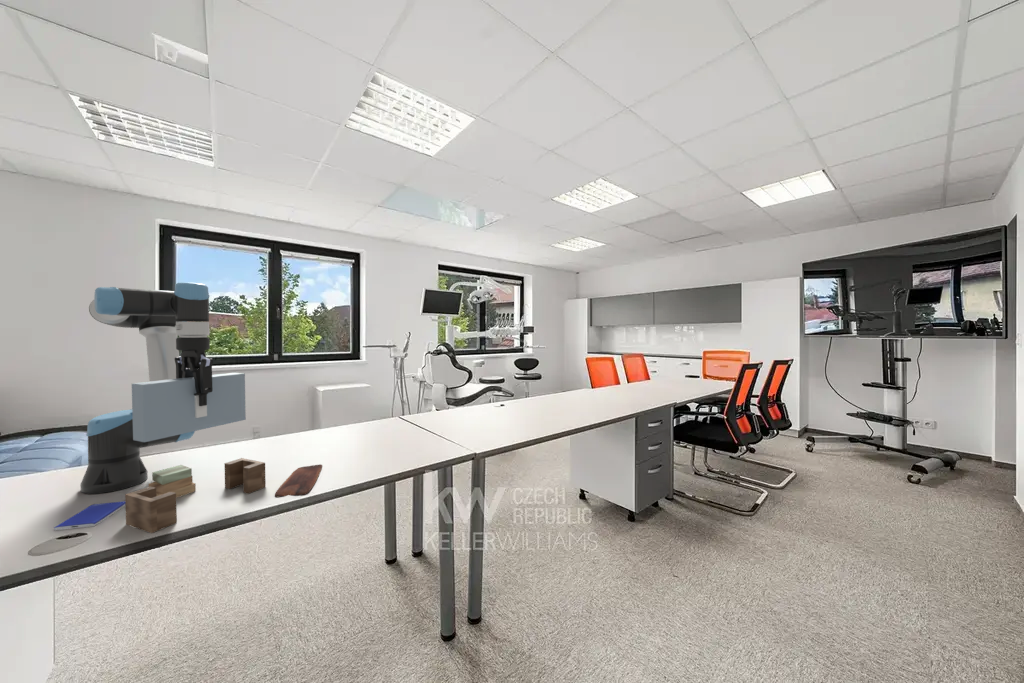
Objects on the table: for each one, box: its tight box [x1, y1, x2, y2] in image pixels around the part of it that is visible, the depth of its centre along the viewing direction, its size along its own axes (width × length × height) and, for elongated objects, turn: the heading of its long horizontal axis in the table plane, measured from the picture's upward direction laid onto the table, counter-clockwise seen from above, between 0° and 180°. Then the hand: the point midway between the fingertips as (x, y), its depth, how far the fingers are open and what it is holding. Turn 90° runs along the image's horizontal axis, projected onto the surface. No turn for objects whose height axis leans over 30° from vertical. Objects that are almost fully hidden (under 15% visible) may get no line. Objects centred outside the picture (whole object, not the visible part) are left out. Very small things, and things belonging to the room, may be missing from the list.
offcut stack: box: [148, 464, 197, 499], centre depth 117 cm, size 8×9×8 cm
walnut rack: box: [124, 457, 266, 534], centre depth 112 cm, size 11×30×8 cm, turn 159°
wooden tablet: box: [274, 463, 323, 498], centre depth 130 cm, size 26×2×10 cm
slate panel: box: [131, 372, 247, 442], centre depth 112 cm, size 5×26×15 cm, turn 159°
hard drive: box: [53, 500, 126, 531], centre depth 104 cm, size 2×8×12 cm
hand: (194, 415), depth 112 cm, fingers closed on slate panel, 5 cm apart
